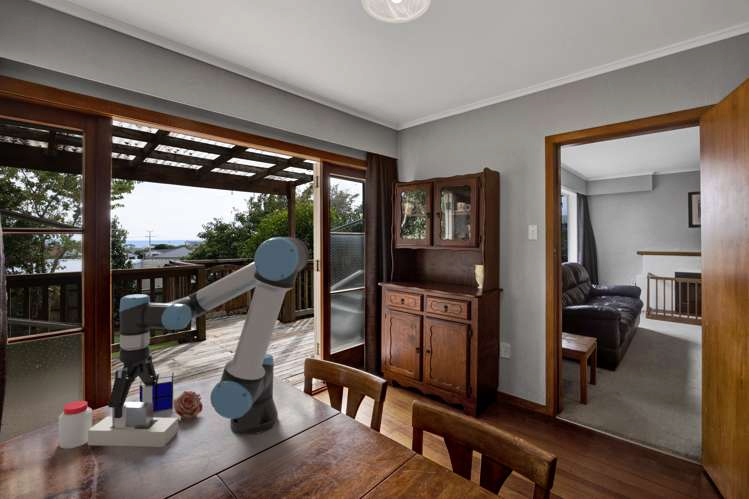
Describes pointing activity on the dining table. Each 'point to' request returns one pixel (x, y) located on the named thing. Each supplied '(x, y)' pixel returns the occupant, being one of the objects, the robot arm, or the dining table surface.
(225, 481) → the dining table surface
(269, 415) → the robot arm
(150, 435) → the block with rectangular holes
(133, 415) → the gray rectangular block
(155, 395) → the puzzle cube
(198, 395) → the flower
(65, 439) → the pill bottle
